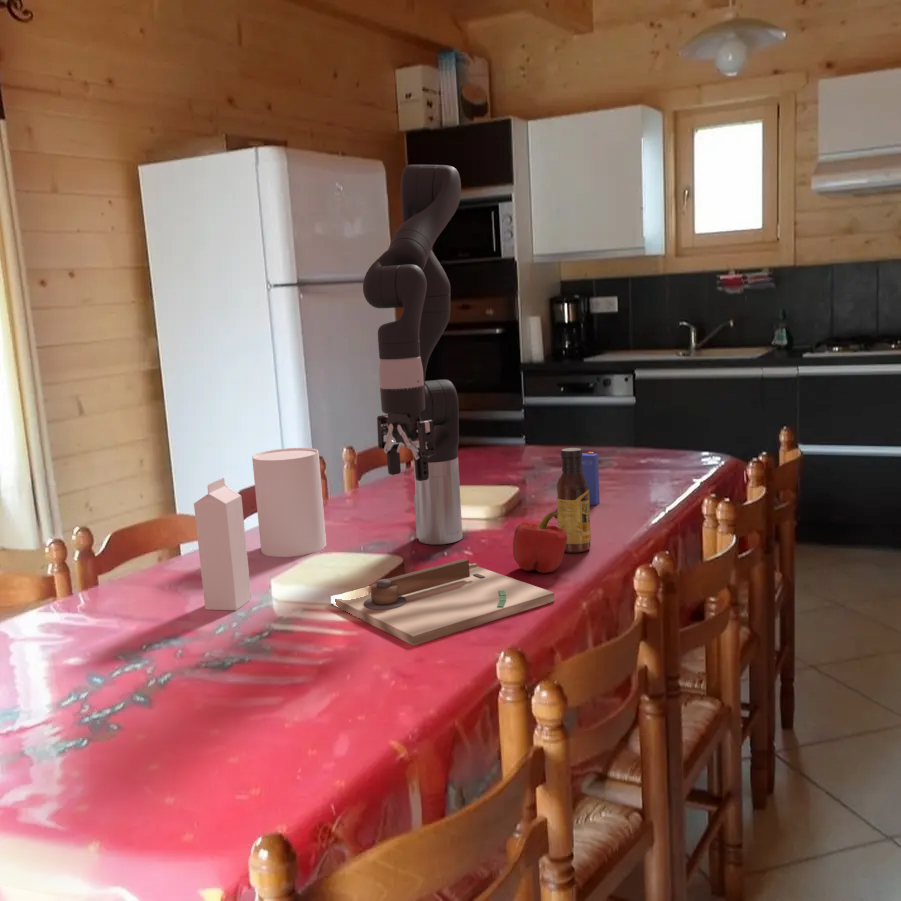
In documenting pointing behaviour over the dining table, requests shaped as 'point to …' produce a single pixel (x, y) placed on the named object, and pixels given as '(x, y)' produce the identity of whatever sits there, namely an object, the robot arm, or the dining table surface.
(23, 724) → the dining table surface
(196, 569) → the dining table surface
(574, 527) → the sauce bottle
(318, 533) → the canister
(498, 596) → the dial board
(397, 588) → the dial lever
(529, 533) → the vegetable
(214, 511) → the milk
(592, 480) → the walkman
